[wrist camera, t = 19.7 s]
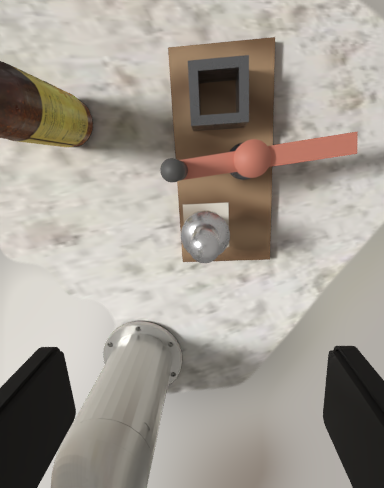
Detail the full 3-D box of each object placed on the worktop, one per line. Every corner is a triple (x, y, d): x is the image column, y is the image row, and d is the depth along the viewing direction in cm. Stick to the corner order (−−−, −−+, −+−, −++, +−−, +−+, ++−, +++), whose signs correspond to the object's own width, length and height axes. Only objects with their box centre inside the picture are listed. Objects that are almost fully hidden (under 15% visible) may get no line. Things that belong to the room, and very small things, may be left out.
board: (268, 257, 37) (270, 259, 36) (183, 259, 38) (182, 262, 37) (273, 41, 30) (275, 36, 29) (169, 51, 31) (168, 47, 30)
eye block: (244, 127, 32) (248, 121, 28) (193, 131, 33) (190, 126, 29) (244, 69, 30) (248, 54, 27) (190, 74, 31) (187, 60, 27)
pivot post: (261, 178, 33) (270, 180, 28) (226, 180, 34) (229, 182, 29) (261, 141, 32) (271, 136, 27) (225, 144, 33) (228, 139, 28)
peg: (227, 244, 36) (233, 274, 26) (186, 245, 36) (177, 275, 27) (226, 203, 34) (233, 219, 25) (183, 205, 35) (174, 221, 25)
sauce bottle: (82, 88, 33) (-94, -25, 14) (102, 138, 34) (-32, 98, 15) (37, 108, 34) (-185, 27, 15) (59, 156, 35) (-119, 139, 16)
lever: (173, 188, 29) (164, 193, 23) (167, 154, 28) (157, 150, 23) (350, 162, 27) (386, 160, 21) (350, 124, 26) (388, 112, 21)
